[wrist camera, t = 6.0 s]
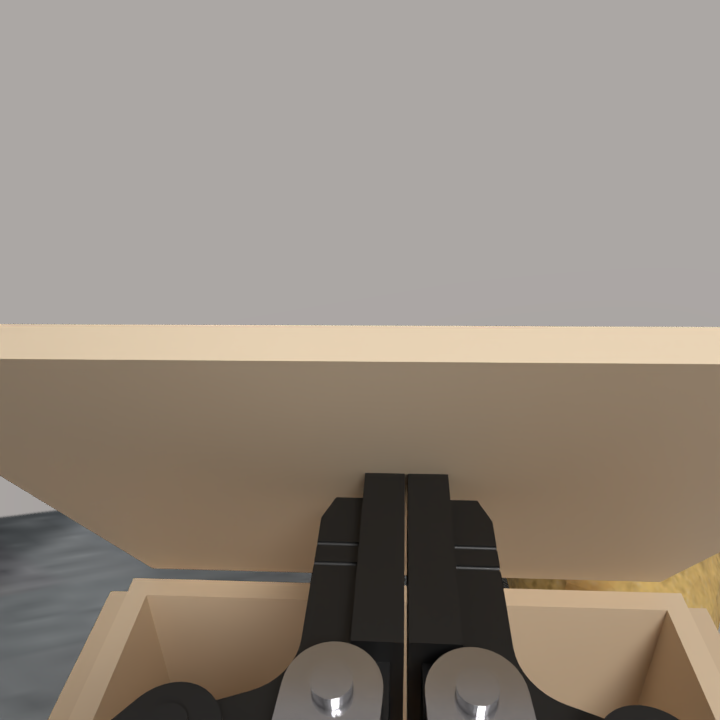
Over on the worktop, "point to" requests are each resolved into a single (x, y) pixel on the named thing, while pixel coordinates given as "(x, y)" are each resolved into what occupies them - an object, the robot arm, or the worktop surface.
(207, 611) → the carton
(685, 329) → the carton flap
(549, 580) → the potato
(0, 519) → the worktop surface
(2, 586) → the worktop surface
